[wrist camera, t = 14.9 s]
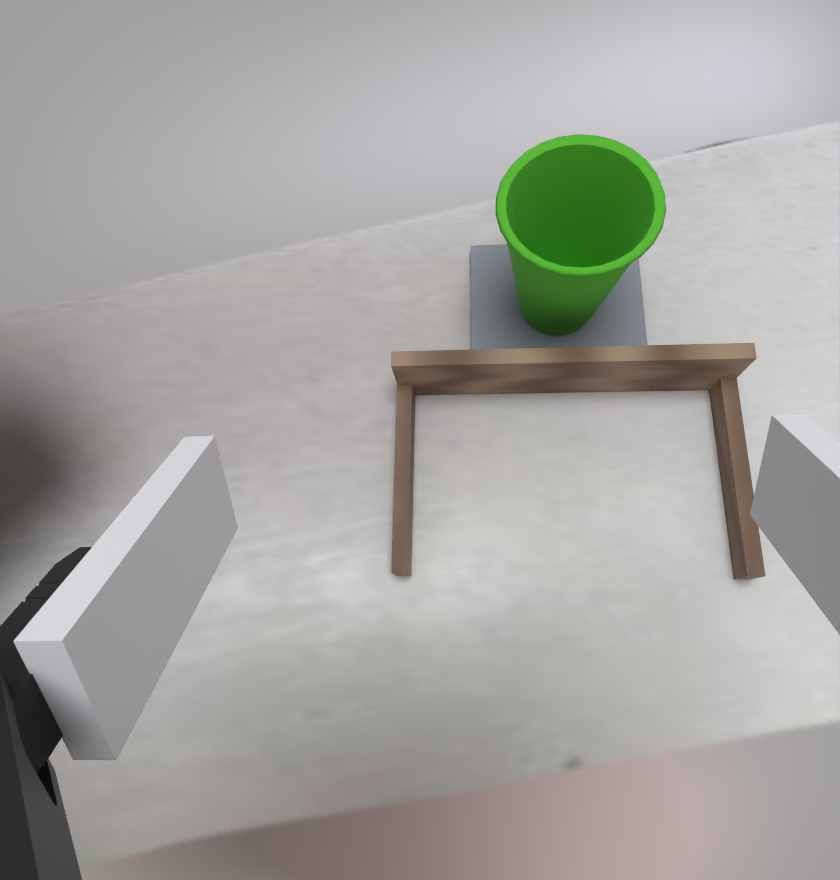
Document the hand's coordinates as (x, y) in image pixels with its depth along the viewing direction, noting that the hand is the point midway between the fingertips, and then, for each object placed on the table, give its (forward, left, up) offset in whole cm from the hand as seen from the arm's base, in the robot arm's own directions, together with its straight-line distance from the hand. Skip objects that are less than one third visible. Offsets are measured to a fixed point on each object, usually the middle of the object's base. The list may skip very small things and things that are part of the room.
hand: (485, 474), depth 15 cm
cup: (+6, +19, -25) cm, 32 cm away
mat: (+5, +19, -26) cm, 32 cm away
